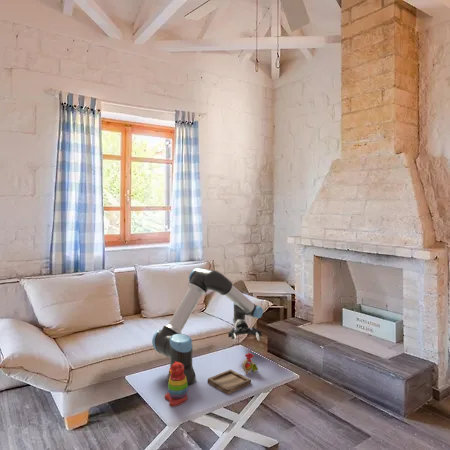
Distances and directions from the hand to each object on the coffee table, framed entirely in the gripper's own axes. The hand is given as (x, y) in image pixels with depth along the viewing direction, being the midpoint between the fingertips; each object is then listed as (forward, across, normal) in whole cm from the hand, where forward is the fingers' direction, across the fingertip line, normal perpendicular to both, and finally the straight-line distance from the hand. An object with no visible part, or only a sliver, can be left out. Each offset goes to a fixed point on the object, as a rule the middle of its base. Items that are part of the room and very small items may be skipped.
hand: (247, 339), depth 211 cm
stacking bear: (+34, +40, -14) cm, 54 cm away
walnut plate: (+22, +13, -15) cm, 29 cm away
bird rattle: (+10, +1, -15) cm, 18 cm away
